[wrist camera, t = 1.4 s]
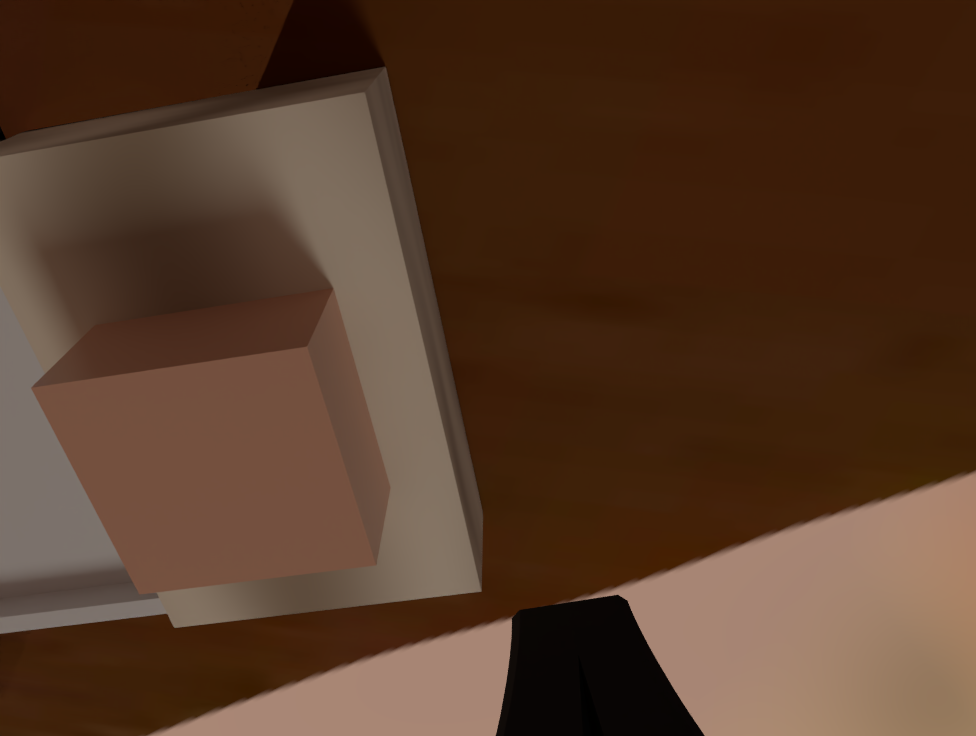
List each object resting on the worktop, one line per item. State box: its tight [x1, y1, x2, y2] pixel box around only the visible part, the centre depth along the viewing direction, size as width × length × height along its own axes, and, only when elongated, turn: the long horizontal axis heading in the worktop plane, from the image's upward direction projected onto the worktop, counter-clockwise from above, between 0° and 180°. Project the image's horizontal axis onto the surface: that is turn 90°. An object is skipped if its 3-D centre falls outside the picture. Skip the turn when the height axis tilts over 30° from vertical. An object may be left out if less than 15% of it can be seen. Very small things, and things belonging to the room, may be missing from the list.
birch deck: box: [0, 67, 483, 628], centre depth 18 cm, size 8×12×3 cm, turn 10°
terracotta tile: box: [31, 288, 391, 595], centre depth 16 cm, size 5×5×2 cm
